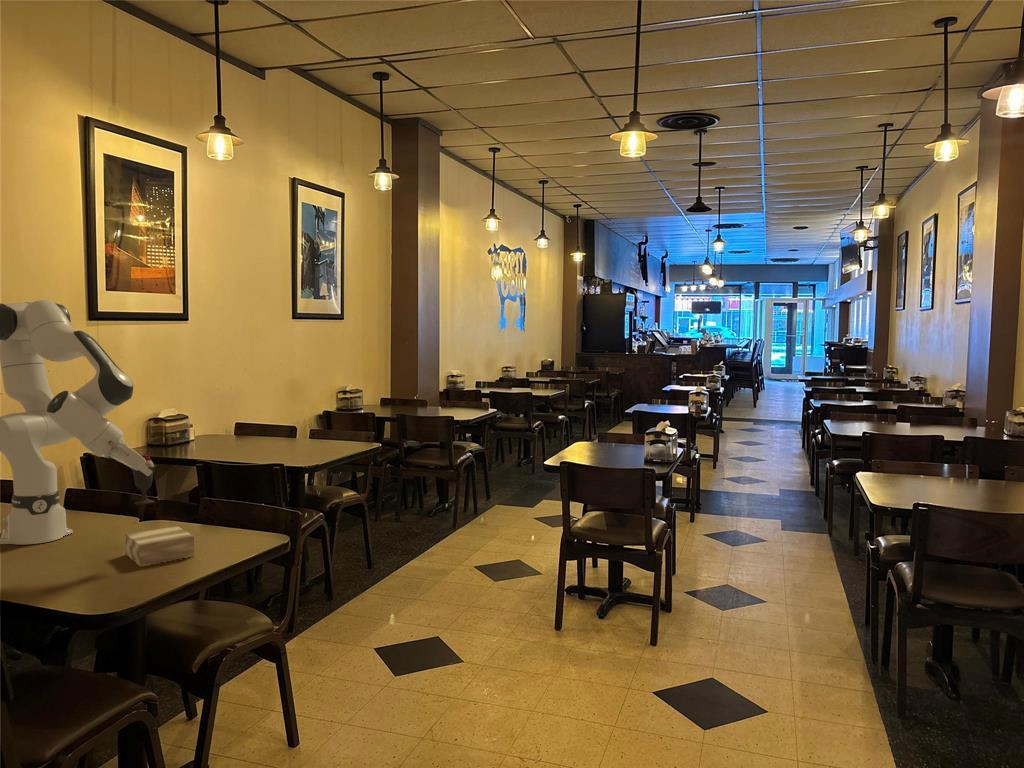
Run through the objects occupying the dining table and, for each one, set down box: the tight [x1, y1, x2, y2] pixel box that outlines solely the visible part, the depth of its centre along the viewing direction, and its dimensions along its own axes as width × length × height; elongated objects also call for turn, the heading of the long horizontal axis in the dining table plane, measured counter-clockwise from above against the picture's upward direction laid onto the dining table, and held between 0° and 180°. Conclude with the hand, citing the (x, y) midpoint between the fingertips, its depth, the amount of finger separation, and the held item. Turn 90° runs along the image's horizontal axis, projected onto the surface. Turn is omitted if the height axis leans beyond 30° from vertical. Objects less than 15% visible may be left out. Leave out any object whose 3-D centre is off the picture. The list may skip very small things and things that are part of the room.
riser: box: [125, 525, 195, 568], centre depth 204 cm, size 14×14×6 cm
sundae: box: [129, 448, 157, 505], centre depth 200 cm, size 7×7×15 cm
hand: (145, 471), depth 200 cm, fingers closed on sundae, 6 cm apart
